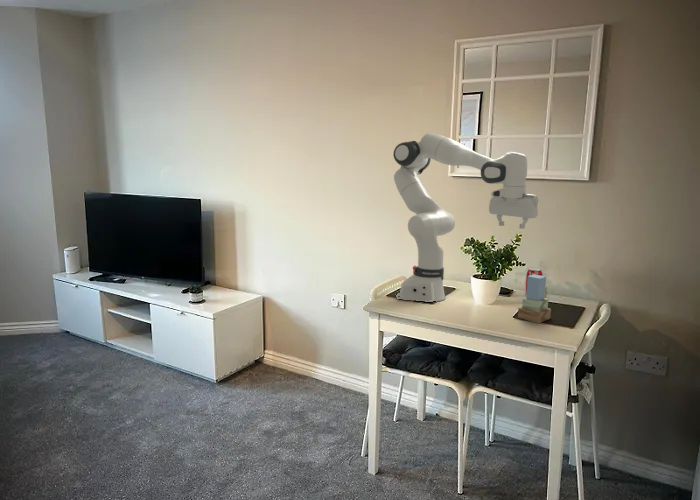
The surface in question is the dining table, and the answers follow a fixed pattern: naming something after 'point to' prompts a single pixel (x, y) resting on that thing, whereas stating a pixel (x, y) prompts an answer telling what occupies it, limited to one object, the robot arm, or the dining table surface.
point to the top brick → (536, 287)
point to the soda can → (533, 271)
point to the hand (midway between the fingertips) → (511, 227)
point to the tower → (534, 310)
